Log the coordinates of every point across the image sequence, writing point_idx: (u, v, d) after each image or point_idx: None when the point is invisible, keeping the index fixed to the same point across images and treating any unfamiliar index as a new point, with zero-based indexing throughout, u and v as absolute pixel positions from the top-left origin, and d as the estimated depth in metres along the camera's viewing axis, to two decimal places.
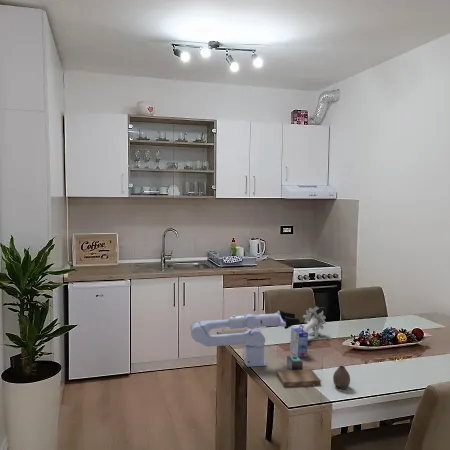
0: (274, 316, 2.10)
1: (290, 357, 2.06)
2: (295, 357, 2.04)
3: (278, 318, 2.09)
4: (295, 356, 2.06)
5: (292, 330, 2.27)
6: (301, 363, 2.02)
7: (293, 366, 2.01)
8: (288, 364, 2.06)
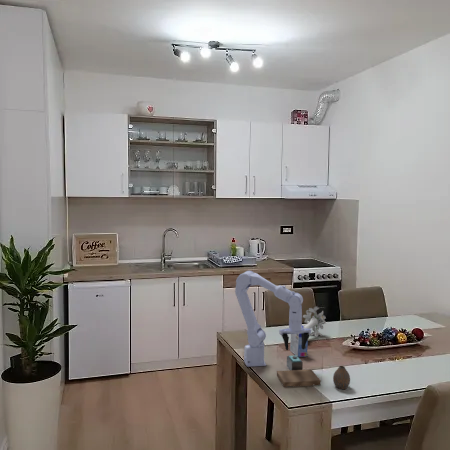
0: (293, 326, 2.02)
1: (290, 357, 2.06)
2: (295, 357, 2.04)
3: (290, 329, 2.03)
4: (295, 356, 2.06)
5: None
6: (301, 363, 2.02)
7: (293, 366, 2.01)
8: (288, 364, 2.06)
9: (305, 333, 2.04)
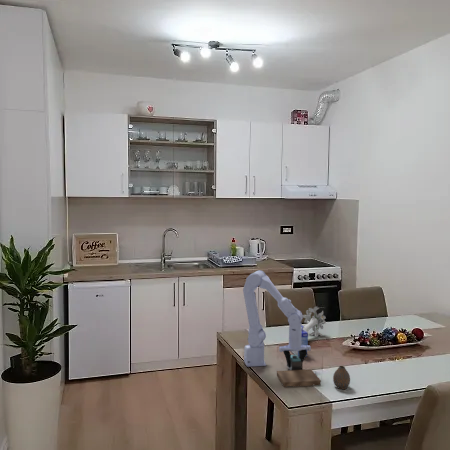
0: (292, 343, 2.02)
1: None
2: (295, 356, 2.05)
3: (290, 347, 2.03)
4: (295, 355, 2.06)
5: None
6: (301, 363, 2.02)
7: (293, 365, 2.01)
8: None
9: (305, 350, 2.05)
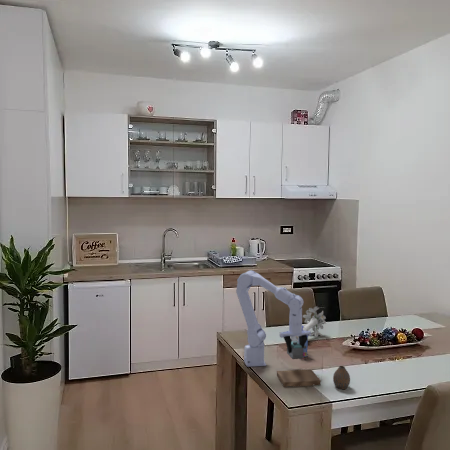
0: (293, 329, 2.01)
1: None
2: (295, 343, 2.04)
3: (291, 332, 2.02)
4: (295, 342, 2.05)
5: None
6: (302, 349, 2.01)
7: (294, 352, 2.00)
8: None
9: (305, 335, 2.04)
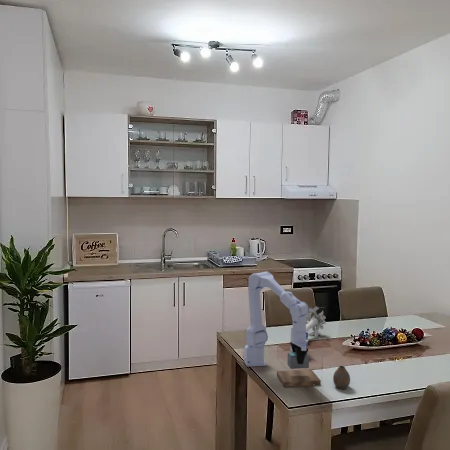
0: (305, 336, 1.91)
1: (296, 355, 1.91)
2: None
3: (303, 341, 1.90)
4: None
5: None
6: None
7: None
8: (297, 363, 1.90)
9: None
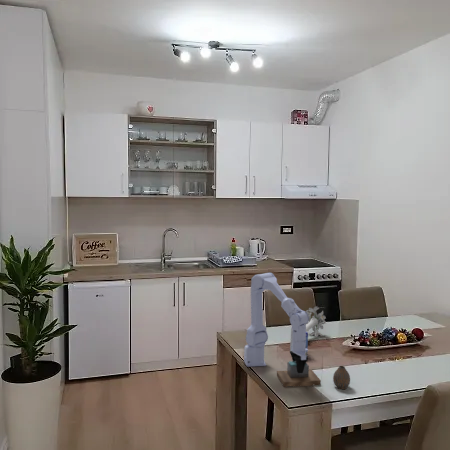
0: (305, 345, 1.91)
1: (296, 364, 1.91)
2: None
3: (303, 350, 1.90)
4: None
5: None
6: None
7: None
8: (297, 372, 1.91)
9: None
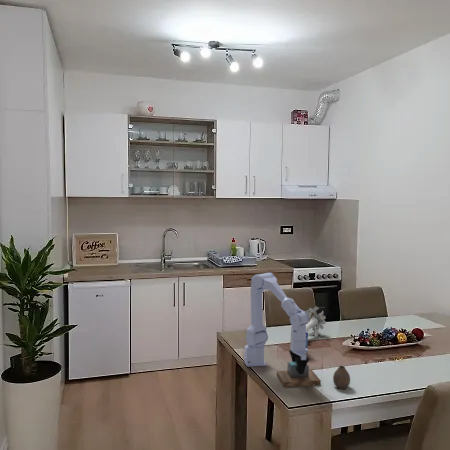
0: (305, 345, 1.91)
1: (296, 364, 1.91)
2: None
3: (303, 350, 1.90)
4: None
5: None
6: None
7: None
8: (297, 372, 1.91)
9: None
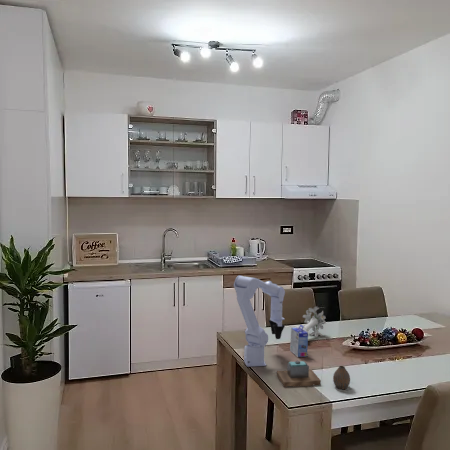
0: (281, 314, 2.21)
1: (296, 364, 1.91)
2: (299, 361, 1.93)
3: (280, 318, 2.20)
4: (296, 361, 1.93)
5: (292, 330, 2.27)
6: None
7: None
8: (297, 372, 1.91)
9: None
